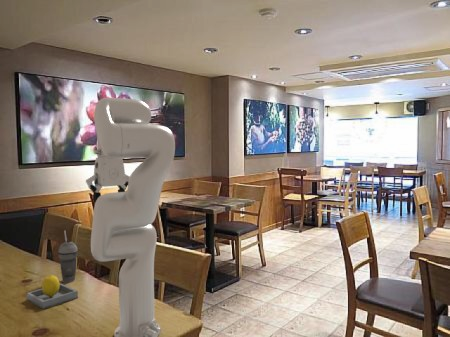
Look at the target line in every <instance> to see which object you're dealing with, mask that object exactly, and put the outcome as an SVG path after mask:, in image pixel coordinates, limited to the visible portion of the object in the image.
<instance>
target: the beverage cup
mask: <svg viewBox="0 0 450 337" xmlns="http://www.w3.org/2000/svg"><path fill="white" fill-rule="evenodd" d="M63 232H64V240H65V242H63V243H61V244H60V246H59V247H58V249H57V250H58V252H57V255H58V258H59V264H60V271H61V280H62V283H72V282H74V281H76V271H77V258H78V252H79V251H78V250H79V249H78V246H77V245H76V244H75V243H74V242H73V241H68V238H67V233H66V230H64V231H63Z"/></svg>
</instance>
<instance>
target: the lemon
mask: <svg viewBox="0 0 450 337" xmlns="http://www.w3.org/2000/svg"><path fill="white" fill-rule="evenodd" d="M59 287H60V280H59V278H58V277H57V276H55V275H53V274H49V275H48V276H46V277H45V278H44V279H43V281H42V284H41V289H42V291H43V293H44V294H45V295H46V296H49V297H50V298H51V297H53V296H54V295H55V294H57V292H58V291H59Z"/></svg>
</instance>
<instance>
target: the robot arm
mask: <svg viewBox="0 0 450 337" xmlns="http://www.w3.org/2000/svg"><path fill="white" fill-rule="evenodd" d="M151 110H152V109H151V108H150V106H149V105H148V104H147V103H145V102H144V101H143V100H141V99H140V100H139V99H135V98H133V99H132V98H117V97H103V98H101V99H100V100H98V102H97V103H96V104H95V107H94V111H93V119H94V124H95V126H94V129H95V133H96V143H97V144H96V147H97V148H96V150H94V155H96V156H97V157H96V158H95V162H94V168H93V169H94V170H93V175H92V176H90V177H89V178H87V179H85V183H86V184H87V186H88V189H89V190H91V192H92V193H93V198H92V199H93V203H94V208H93V215H92V225H91V235H90V252H91V255H92V257H93V259H95V260H96V261H97V262H100V263H101V262H113V261H118V260H119V261H120V260H125V261H124V262H123V263H122V266H121V267H120V270H119V274H118V293H119V294H118V296H119V297H118V300H119V301H118V302H119V325H118V326H117V327H116V328H115V330H114V332H113V336H114V337H159V335H160V334H161V333H162V328H161V326H160V324H159V323H158V322H157V318H155V272H154V271H155V253H156V248H157V241H158V239H157V238H158V236H157V235H158V234H157V231H156V228H155V226H154V225H153V223H154V221H155V220H156V218H157V217H156V216H157V215H158V214H157V213H158V209H159V205H160V204H159V203H160V200H161V194H162V190H163V185H164V182H165V180H166V177H168V174H169V171H170V170H171V167H172V165H173V162H174V158H175V151H176V140H175V135H174V134H173V132H172V130H171V129H170V128H168V127H167V126H164V125H159V124H153V123H150V122H151V120H152V111H151ZM143 158H144V161H142V162H141V163H140V164H138V165H137V166H136V168H135V169H134V170H133V171H132V172H131V173H130V176H129V175H128V174H126V171H125V164H124V160H123V159H143ZM93 182H94V183H93ZM103 187H104V188H105V187H108V188H109V187H117V188H118V189H117V192H107V193H104V194H102V193H101V189H102V188H103Z"/></svg>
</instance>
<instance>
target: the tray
mask: <svg viewBox="0 0 450 337" xmlns="http://www.w3.org/2000/svg"><path fill="white" fill-rule="evenodd" d="M59 284H60V287H59V291H58V292H57V294H55V295H54V296H53V297H51V298H50V297H49V296H46V295H45V294H44V293H43V291H42V288H40V289H39V288H38V289H36V290H32V291H29V292H26V301H28V302H29V303H32V305H35V306H36V307H39V308H40V309H42V310H46V309H49V308H51V307H54V306H58V305H61V304H64V303H68V302H70V301H73V300H76V299H79V293H78V290H76V289H74V288H72V287H70V286H68V285H65V284H63V283H61V282H59Z"/></svg>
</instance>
